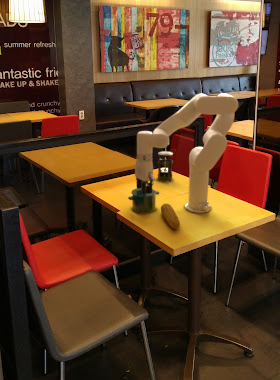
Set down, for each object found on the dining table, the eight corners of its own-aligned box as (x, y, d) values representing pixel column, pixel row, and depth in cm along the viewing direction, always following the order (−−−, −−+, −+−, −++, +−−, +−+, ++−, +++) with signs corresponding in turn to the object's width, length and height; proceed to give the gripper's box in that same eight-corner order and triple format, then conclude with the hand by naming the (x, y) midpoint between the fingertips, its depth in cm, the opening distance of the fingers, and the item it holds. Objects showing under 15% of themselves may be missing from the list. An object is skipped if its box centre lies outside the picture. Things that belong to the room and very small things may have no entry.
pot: (164, 209, 198) (164, 193, 196) (135, 216, 189) (135, 200, 187) (151, 202, 207) (151, 186, 205) (123, 208, 198) (123, 192, 197)
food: (159, 213, 193) (159, 202, 192) (170, 212, 194) (170, 201, 193) (171, 232, 173) (172, 220, 172) (184, 231, 174) (184, 219, 173)
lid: (161, 195, 195) (161, 182, 193) (140, 200, 188) (140, 187, 187) (147, 188, 205) (147, 176, 203) (126, 192, 198) (126, 180, 197)
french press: (176, 181, 241) (177, 144, 236) (163, 183, 236) (164, 146, 231) (165, 175, 251) (166, 140, 246) (152, 178, 246) (153, 142, 241)
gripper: (128, 153, 197) (128, 186, 201) (148, 162, 183) (147, 197, 187) (141, 151, 201) (141, 184, 205) (161, 159, 187) (160, 194, 191)
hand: (144, 190), depth 196 cm, fingers open, 8 cm apart
